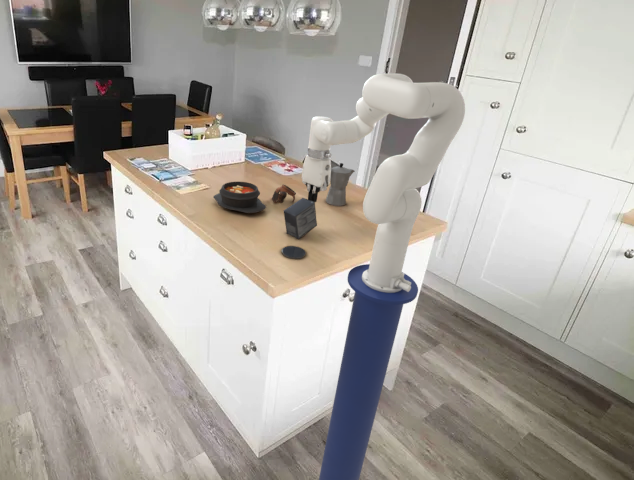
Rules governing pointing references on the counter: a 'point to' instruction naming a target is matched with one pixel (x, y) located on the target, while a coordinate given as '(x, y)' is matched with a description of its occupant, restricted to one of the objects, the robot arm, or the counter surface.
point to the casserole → (240, 197)
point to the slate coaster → (293, 252)
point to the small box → (300, 218)
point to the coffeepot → (338, 185)
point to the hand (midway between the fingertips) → (311, 201)
